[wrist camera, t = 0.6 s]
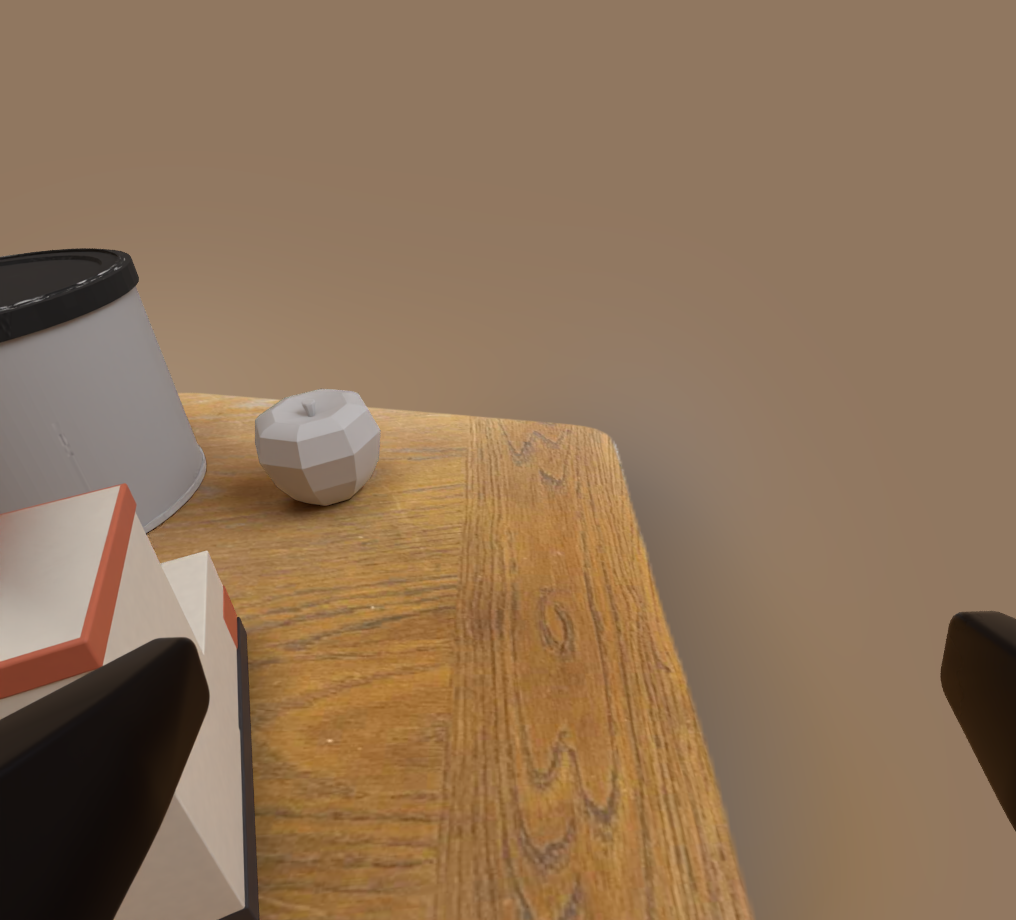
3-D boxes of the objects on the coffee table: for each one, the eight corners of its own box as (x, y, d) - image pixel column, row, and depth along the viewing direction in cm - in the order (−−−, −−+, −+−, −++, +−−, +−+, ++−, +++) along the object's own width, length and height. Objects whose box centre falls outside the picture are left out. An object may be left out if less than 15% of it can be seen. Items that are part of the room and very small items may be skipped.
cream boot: (260, 929, 21) (86, 639, 14) (81, 1007, 20) (-205, 728, 13) (246, 632, 32) (147, 396, 26) (133, 668, 31) (-2, 429, 24)
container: (50, 619, 35) (-114, 355, 27) (-175, 574, 40) (-363, 345, 33) (262, 443, 50) (195, 243, 42) (76, 428, 56) (-12, 249, 48)
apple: (254, 532, 40) (220, 438, 36) (288, 465, 47) (262, 381, 43) (384, 520, 40) (361, 425, 36) (399, 455, 46) (381, 369, 43)
